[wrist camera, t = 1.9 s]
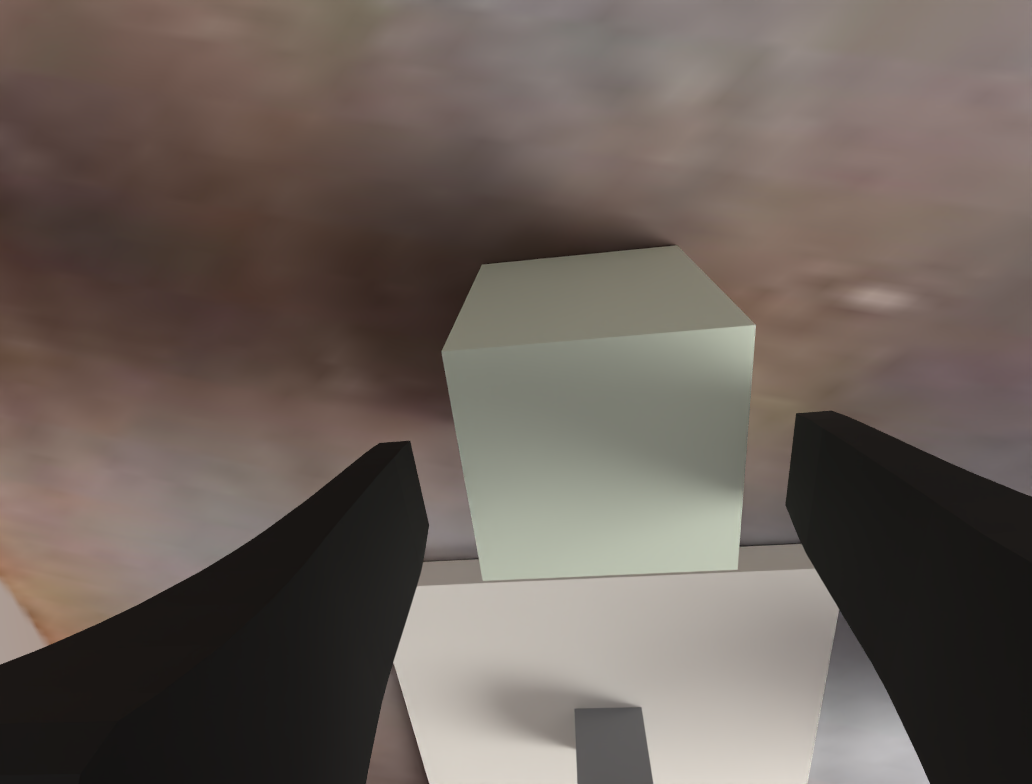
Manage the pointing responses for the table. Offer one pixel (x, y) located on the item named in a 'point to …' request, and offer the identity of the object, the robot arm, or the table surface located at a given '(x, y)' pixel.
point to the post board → (619, 674)
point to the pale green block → (601, 415)
